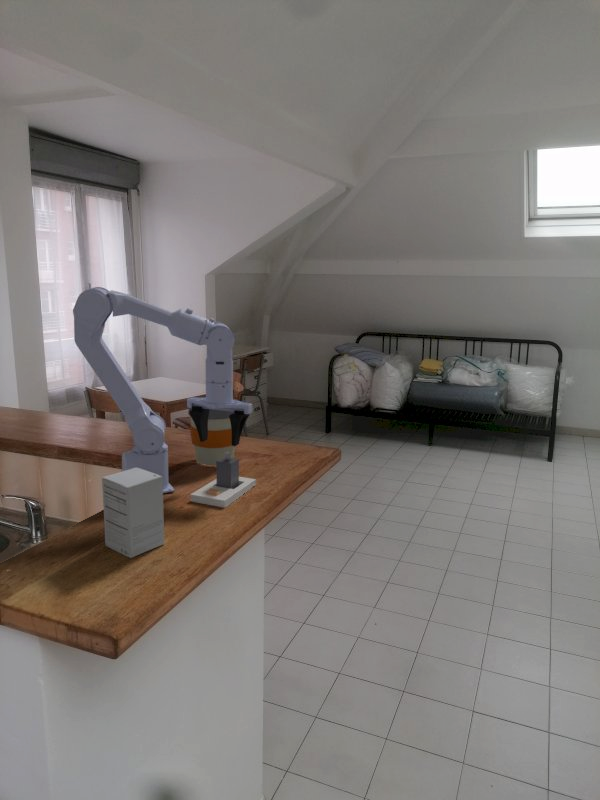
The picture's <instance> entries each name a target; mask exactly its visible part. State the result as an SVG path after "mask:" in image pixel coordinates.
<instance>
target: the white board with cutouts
mask: <svg viewBox="0 0 600 800" xmlns="http://www.w3.org/2000/svg"><path fill="white" fill-rule="evenodd" d="M255 485H256V486H257V479H256V478H250V477H243V476H239V486H238V487H236V488H235V489H230V488H224V487H218V486H217V479H216V478H215V479H213V480H212V481H210V482H209V483H207V484H205V485H204V486H202V487H201V488H198V489H197V490H195V491H194V492H191V493H190V494H189V495H190V502H192V503H198V504H203V505H208V506H214V507H218V508H223V509H225V508H227V507H228V506H229V505H230V506H231V504H232V503H234V502H235V501H237V500H238V499H240V498H241V497H243V496H244V495H245V494H247V493H248V492H249V491H251V490H252V489H253V488H252V487H253V486H255ZM256 486H255V487H256ZM251 488H252V489H251ZM250 489H251V490H250ZM248 490H249V491H248ZM247 491H248V492H247ZM246 492H247V493H246ZM244 493H245V494H244ZM243 494H244V495H243ZM239 497H240V498H239ZM236 499H237V500H236Z"/></svg>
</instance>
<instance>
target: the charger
mask: <svg viewBox="0 0 600 800" xmlns="http://www.w3.org/2000/svg"><path fill="white" fill-rule="evenodd" d="M239 467H240V459H239V458H235V457H234V458H231V453H229V452H227V453H225V457H223V458H221V459H219V460H218V461H216V467H215V468H216V475H215V476H216V478H215V479H217V486H218V487H224V488H230V489H235V488H236V487H238V486H239V477H240V471H239V470H240V468H239Z"/></svg>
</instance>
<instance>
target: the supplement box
mask: <svg viewBox="0 0 600 800" xmlns="http://www.w3.org/2000/svg"><path fill="white" fill-rule="evenodd" d="M101 484H102V485H101V487H102V502H103V521H104V522H103V524H104V541H105V544H104V545H105V546H106V547H107V548H110V549H111V550H113V551H115V552H117V553H120V554H121V555H122V556H125V557H128V558H129V559H132V558H135V557H136V556H139V555H142V554H144V553H146V552H148V551H151V550H153V549H155V548H158V547H161V546H163V545H164V544H165V524H164V523H165V520H164V519H165V517H164V516H165V515H164V493H163V482H162V476H160V475H157V474H155V473H152V472H149V471H146V470H143V469H140V468H137V467H135V468H132V469H129V470H126V471H122V470H121V471H119V472H116V473H113V474H109V475H105V476H102V477H101Z"/></svg>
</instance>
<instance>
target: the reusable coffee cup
mask: <svg viewBox="0 0 600 800" xmlns="http://www.w3.org/2000/svg"><path fill="white" fill-rule="evenodd" d="M202 398H206V396H204V397H203V396H202ZM233 400H236V401H239V400H238V399H236V398H233ZM191 409H192V408H188V415H189V411H191ZM233 413H234V412H231V411H222V410H213V409H210V411H209V416H208V438H207V440H206V441H204V442H200V438H199V434H198V431H197V428H196V425H195V423H194V421H193V419H192V418H191V416H190V415H189V418H190V419H189V420H190V423H189V431H190V437H191V439H190V440H191V444H192V445H193V449H194V455H195V460H196V461H197V462H199V463H202V464H206V465H216V461H218V460H219V459H221V458H223V457H225V453H227V452H229V453H231V458H235V457H234V455H235V449H236V446H232V429H231V422H230V418H229V415H231V414H233ZM196 461H195V462H196ZM197 462H196V463H197Z"/></svg>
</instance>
